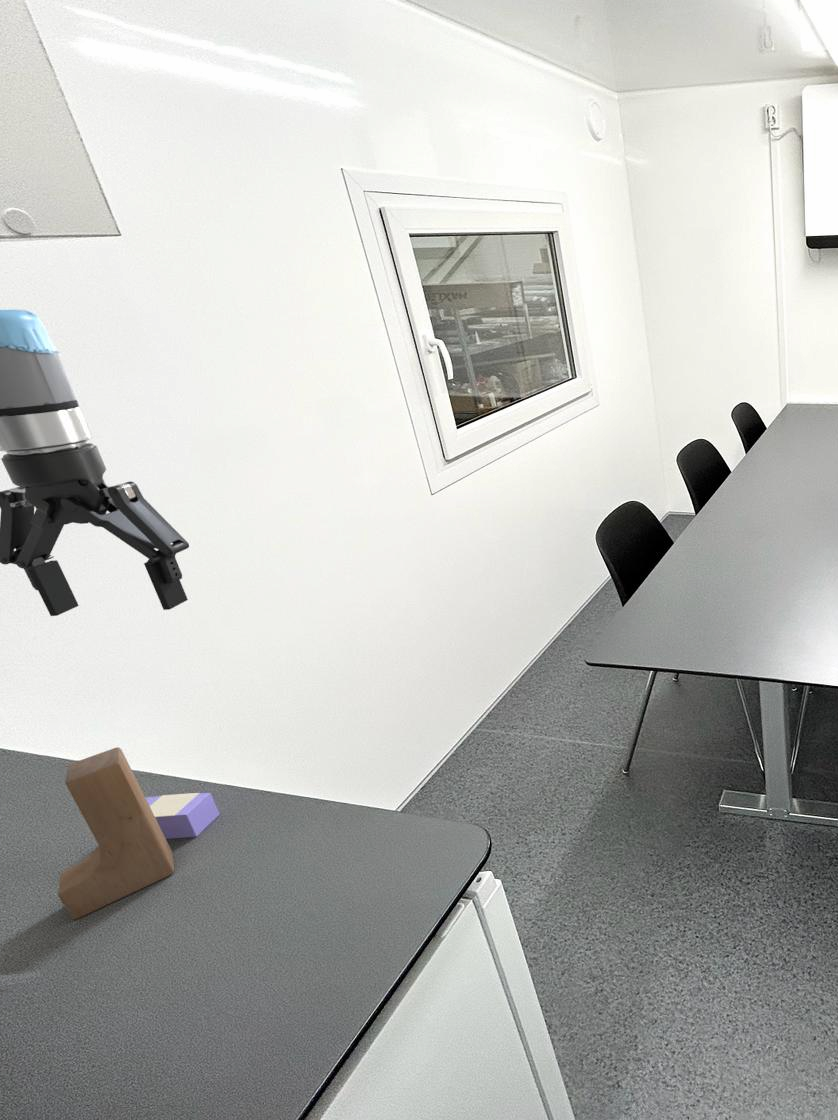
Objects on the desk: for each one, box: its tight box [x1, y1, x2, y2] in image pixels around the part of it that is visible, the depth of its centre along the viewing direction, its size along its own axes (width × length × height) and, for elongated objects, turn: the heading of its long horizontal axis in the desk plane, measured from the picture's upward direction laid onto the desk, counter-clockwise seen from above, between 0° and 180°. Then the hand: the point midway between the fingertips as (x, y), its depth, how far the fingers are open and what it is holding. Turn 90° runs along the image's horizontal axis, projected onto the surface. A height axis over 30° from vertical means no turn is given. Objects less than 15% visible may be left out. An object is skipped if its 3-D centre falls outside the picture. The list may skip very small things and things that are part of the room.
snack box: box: [145, 792, 221, 840], centre depth 87 cm, size 10×4×4 cm, turn 94°
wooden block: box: [57, 746, 175, 920], centre depth 76 cm, size 9×4×18 cm, turn 136°
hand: (120, 608), depth 80 cm, fingers open, 13 cm apart
